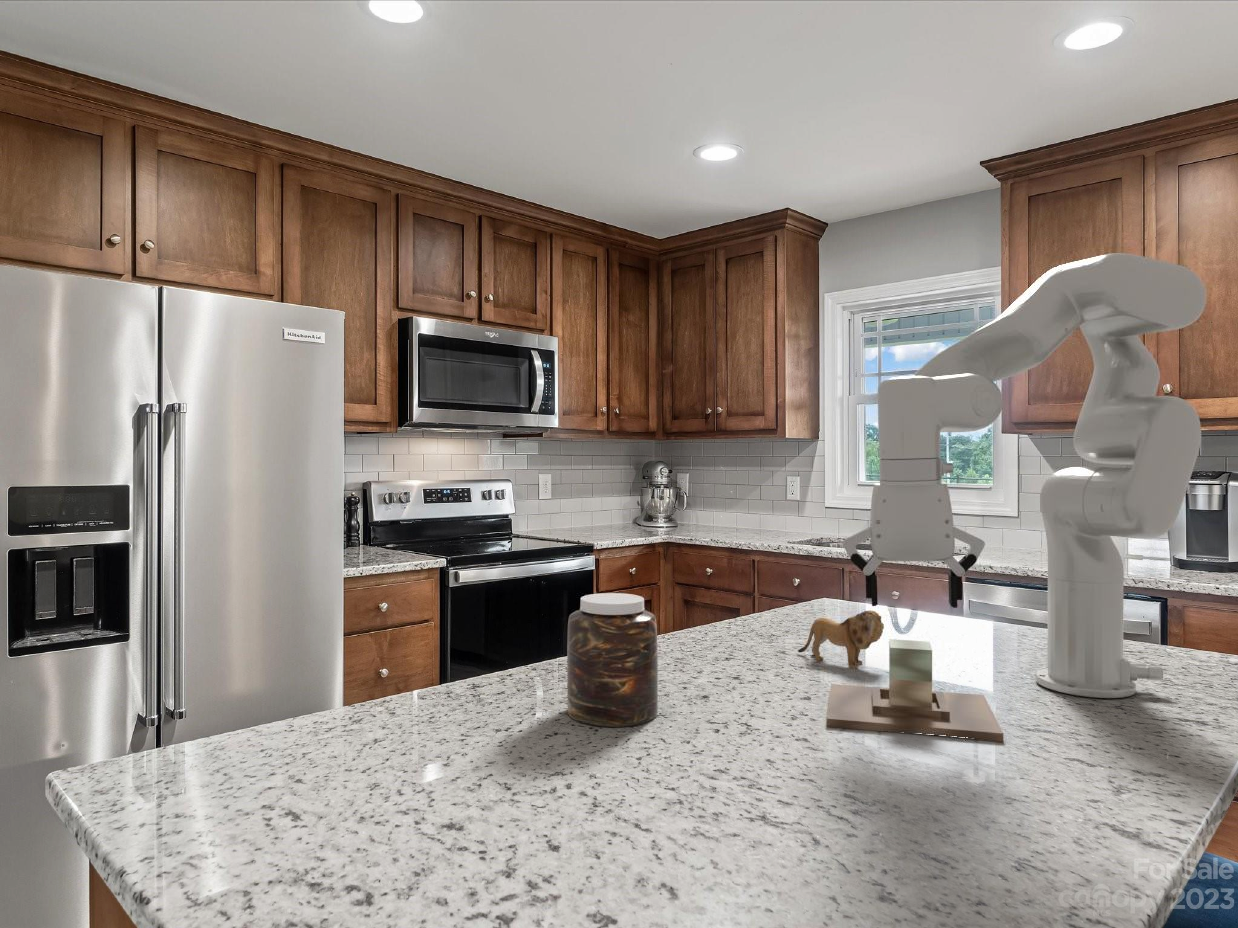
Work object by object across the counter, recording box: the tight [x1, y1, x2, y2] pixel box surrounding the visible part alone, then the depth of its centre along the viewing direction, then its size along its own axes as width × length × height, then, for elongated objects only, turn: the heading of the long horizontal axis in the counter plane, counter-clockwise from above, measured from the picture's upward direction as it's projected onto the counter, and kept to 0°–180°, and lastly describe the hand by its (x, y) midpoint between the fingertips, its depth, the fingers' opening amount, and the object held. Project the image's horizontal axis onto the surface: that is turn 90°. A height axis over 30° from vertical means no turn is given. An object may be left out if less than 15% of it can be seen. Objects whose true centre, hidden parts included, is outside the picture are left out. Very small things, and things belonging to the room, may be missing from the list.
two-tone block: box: [888, 639, 933, 708], centre depth 107 cm, size 5×5×8 cm
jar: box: [566, 592, 659, 728], centre depth 108 cm, size 12×12×15 cm
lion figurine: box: [797, 610, 885, 669], centre depth 134 cm, size 15×5×9 cm, turn 50°
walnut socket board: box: [826, 683, 1004, 743], centre depth 107 cm, size 20×16×2 cm
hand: (913, 604), depth 107 cm, fingers open, 9 cm apart
